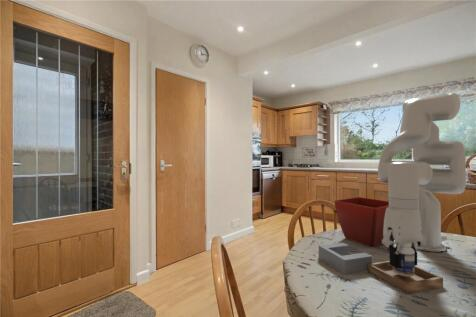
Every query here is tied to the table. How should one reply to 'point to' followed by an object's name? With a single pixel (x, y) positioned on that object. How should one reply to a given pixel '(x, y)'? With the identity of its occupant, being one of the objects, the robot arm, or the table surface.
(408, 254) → the pill bottle
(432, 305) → the table surface
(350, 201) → the plant pot
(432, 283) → the tray
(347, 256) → the dock
